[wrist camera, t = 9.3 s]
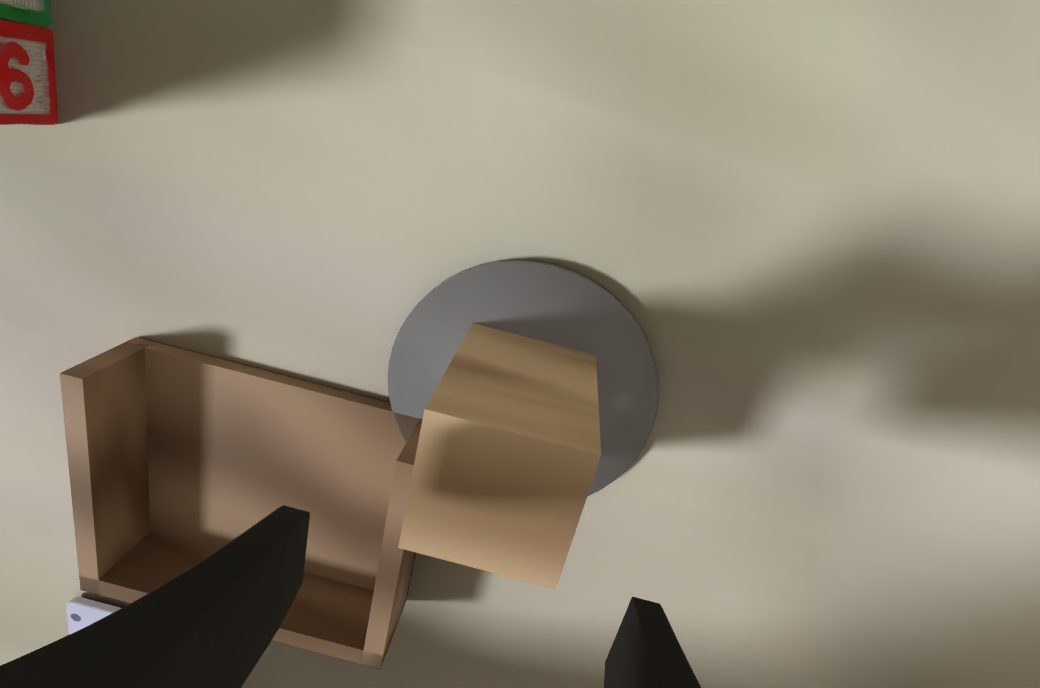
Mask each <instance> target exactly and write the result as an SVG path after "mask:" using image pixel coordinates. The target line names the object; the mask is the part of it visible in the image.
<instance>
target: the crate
mask: <svg viewBox="0 0 1040 688" xmlns="http://www.w3.org/2000/svg"><path fill="white" fill-rule="evenodd" d="M60 380H61V390H62V401H63V411H64V422H65V432H66V442H67V453H68V463H69V474H70V484H71V495H72V505H73V515H74V526H75V536H76V547H77V557H78V568H79V578H80V589H81V590H83V591H87V592H90V593H94V594H98V595H102V596H105V597H109V598H113V599H117V600H121V601H124V602H128V603H132V602H134V601H136V600H137V599H139V598H141V597H143V596H144V595H146V594H148V593H150V592H151V591H153V590H155V589H156V588H158V587H160V586H161V585H163V584H165V583H166V582H168V581H170V580H171V579H173V578H175V577H176V576H178V575H180V574H181V573H183V572H185V571H186V570H188V569H189V568H191V567H192V566H194V565H196V564H197V563H199V562H200V561H202V560H203V559H205V558H206V557H208V556H209V555H211V554H212V553H214V552H215V551H217V550H218V549H220V548H221V547H223V546H224V545H226V544H227V543H229V542H230V541H232V540H233V539H235V538H236V537H238V536H239V535H240V534H242V533H243V532H245V531H246V530H248V529H249V528H250V527H252V526H253V525H255V524H256V523H258V522H259V521H260V520H262V519H263V518H265V517H266V516H267V515H269V514H270V513H272V512H273V511H275V510H276V509H277V508H279V507H281V506H283V505H285V506H288V507H292V508H296V509H300V510H304V511H308V512H310V519H309V529H308V538H307V547H306V556H305V565H304V574H303V583H302V585H301V587H300V589H299V591H298V593H297V595H296V597H295V599H294V601H293V603H292V605H291V607H290V609H289V611H288V612H287V614H286V616H285V618H284V620H283V622H282V624H281V626H280V628H279V629H278V631H277V633H276V634H275V636H274V637H273V639H272V641H275V642H279V643H283V644H287V645H290V646H294V647H298V648H302V649H306V650H309V651H313V652H317V653H321V654H324V655H328V656H332V657H336V658H339V659H343V660H347V661H351V662H355V663H358V664H362V665H366V666H370V667H373V668H377V669H381V666H382V664H383V661H384V658H385V656H386V653H387V650H388V648H389V645H390V642H391V640H392V637H393V634H394V631H395V629H396V626H397V623H398V621H399V618H400V615H401V613H402V610H403V607H404V605H405V602H406V598H407V593H408V588H409V583H410V578H411V573H412V569H413V564H414V559H415V554H416V552H412V551H408V550H405V549H401V548H398V546H399V541H400V536H401V530H402V525H403V520H404V514H405V509H406V504H407V499H408V493H409V488H410V483H411V477H412V472H413V467H414V462H415V456H416V451H417V446H418V440H419V435H420V430H421V425H422V419H419V421H417V419H418V418H416V420H415V418H414V417H411V416H408V417H407V415H406V416H405V415H404V416H403V414H402V415H400V414H398V413H396V412H395V414H396V415H397V417H398V418H397V419H398V421H400V422H401V423H400V424H399V425H400V426H402V425H403V426H404V427H401V428H400V429H399V427H398V425H397V423H398V422H396V420H395V418H396V417H394V416H395V415H394V414H393V411H392V408H391V403H390V402H386V401H382V400H378V399H374V398H370V397H366V396H362V395H359V394H355V393H351V392H347V391H343V390H339V389H335V388H332V387H328V386H324V385H320V384H316V383H312V382H308V381H304V380H301V379H297V378H293V377H289V376H285V375H281V374H277V373H273V372H270V371H266V370H262V369H258V368H254V367H250V366H246V365H242V364H239V363H235V362H231V361H227V360H223V359H219V358H215V357H211V356H208V355H204V354H200V353H196V352H192V351H188V350H184V349H180V348H177V347H173V346H169V345H165V344H161V343H157V342H153V341H149V340H146V339H142V338H138V337H135V338H133V339H131V340H129V341H127V342H125V343H123V344H121V345H118V346H116V347H114V348H112V349H110V350H108V351H106V352H104V353H102V354H100V355H97V356H95V357H93V358H91V359H89V360H87V361H85V362H83V363H81V364H78V365H76V366H74V367H72V368H70V369H68V370H66V371H64V372H62V373H60ZM398 415H399V416H398ZM400 417H401V418H400ZM404 417H405V418H404ZM406 418H407V419H408V420H406ZM410 418H411V419H410ZM412 418H413V419H414V420H413V419H412ZM410 420H411V422H412V423H410ZM403 421H404V422H405V421H406V422H405V423H404V422H403ZM408 422H409V423H408ZM402 423H403V424H402ZM406 423H407V424H408V425H409V424H410V425H409V429H408V425H407V424H406ZM416 423H417V424H416ZM412 424H414V425H416V426H414V425H412ZM405 426H406V427H405ZM411 427H413V428H414V429H413V428H411ZM402 428H403V429H402ZM401 429H402V430H403V433H405V434H403V435H404V437H405V435H406V437H405V438H407V441H405V439H404V437H403V435H402V433H401V431H400V430H401ZM411 429H413V430H411ZM404 430H406V431H408V430H410V431H408V432H405V431H404ZM411 431H413V432H411ZM409 435H410V436H409ZM407 436H408V437H407Z"/></svg>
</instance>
